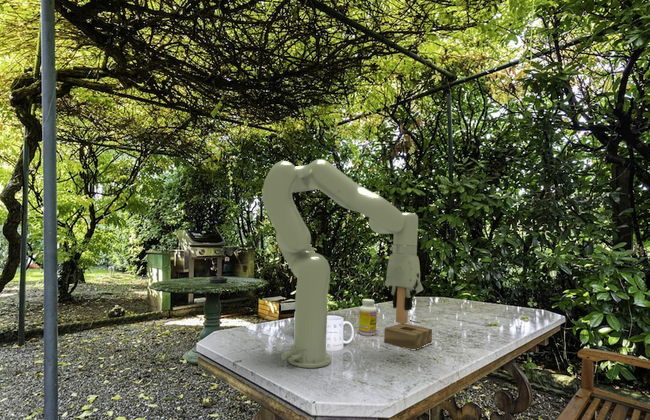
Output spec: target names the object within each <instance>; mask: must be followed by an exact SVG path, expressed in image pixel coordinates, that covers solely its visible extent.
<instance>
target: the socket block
mask: <svg viewBox="0 0 650 420" xmlns="http://www.w3.org/2000/svg"><path fill="white" fill-rule="evenodd" d="M383 332H384V335H383V337H384V340H383V344H387V343H389V344H388V345H391V344H392V346H395V345H396V346H395V347H399V346H400V348H403V347H405V348H404V349H406V348H410V349H417V348H420V347H422V346H424V345H426V344H428V343H431V342H432V343H433V329H432V328H427V327H422V326H418V325H414V324H413V325H412V324H408V323H398V324H394V325H391V326H388V327H384V331H383ZM410 349H409V350H410ZM420 349H421V348H420Z"/></svg>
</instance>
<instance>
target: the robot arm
mask: <svg viewBox="0 0 650 420" xmlns="http://www.w3.org/2000/svg"><path fill="white" fill-rule="evenodd" d="M262 187H263V188H262V203H263V206H264V209H265V212H266V214H267V216H268V217H269V220H270V222H271V224H272V226H273V228H274V229H275V233H276V234H275V240H276V244H277V246H278V248H279V250H280V252H281V254H282V256H283V258H284V260H285V261H286V263H287V265H288V267H289V269H290V271H291V272H292V274H293V275H294V277H296V278H297V280H296V287H295V288H296V290H295V298H294V299H295V301H294V302H295V303H294V305H295V307H294V309H295V311H294V329H293V330H294V333H293V335H294V337H293V345H291V347H290V349H289V350H288V351H285V352H282V353H281V354H280V358H281V359H282V361H285V360H287V361H288V363H290V364H291V365H293V366H295V367H299V368H305V369H306V368H308V369H309V368H310V369H315V368H317V369H318V368H322V367H326V366H328V365H329V364H331V362H332V356H331V355H330V354H328V353H326V352H327V327H328V325H327V323H328V295H329V286H330V279H331V278H330V277H331V266H330V264H329V262H328V260H327V259H326V258H325V257H324V255H322V254H320V253H317V252H315V250H314V249H313V247H312V244H311V242H312V236H311V232H310V230H309V229H308V226H307V224H306V223H305V222H304V219H303V217H302V216H301V214H300V212H299V210H298V207H297V206H296V204H295V201H294V199H293V193H300V192H308V191H309V192H310V191H315V190H320V192H321V193H323V194H324V195H326V196H327V197H329V198H330V199H331V200H333V201H334V202H335V203H336V204H338V205H339V206H340V207H342V208H344V209H346V210H350V211H352V212H353V211H354V212H356V213H360V214H362V215H364V216H366V217H367V218H369V219H368V226H369V227H370V229H371V231H373V232H374V233H376V234H380V235H390V234H391V235H393V238H392V239H393V241H392V242H393V245H392V246H390V248H389V250H390V251H392V253H391V254H389V258H388V263H387V268H386V278H385V282H384V283H383V284H384V285H385V287H386V288H387V289H389V291H390V293H391V295H392V308H393V309H396V306H397V286H399V287H405V288H406V293H407V297H405V310H406V311H407V310H408V311H411V310H412V308H413V301H414V300H413V298H415V296H416V295H417V294H419V293H420V292H422V291H423V290H424V286H423V285H422V283H421V268H420V267H421V266H420V259H419V256H418V255H417V254H418V253H417V252H418V250H417V249H418V231H419V230H418V229H419V215H417V213H413V212H401V211H400V210H399V208H397V207H396V206H394V205H393V204H392V203H391V202H390V201H388V200H387V199H385V197H382V196H380V195H379V194H377V193H375V192H373V191H371V190H370V189H368V188H366V187H363V186H362V185H360V184H358V183H356V182H355V181H354V180H353V179H351V178H350V177H349V176H347V175H346V174H345V173H344V172H343V171H341V170H340V169H339V168H337V167H336V166H334V165H333V164H332V163H330V162H329V161H327V160H325V159H322V158H319V159H315V160H312V161H311V162H310V163H309V164H305V165H297V166H295V165H294V163H292V162H290V161H287V160H281V161H278V162H276V163H274V165H273V166H272V167H271V168H270V170H269V171H268V172H267V175H266V177H265V179H264V182H263V186H262Z"/></svg>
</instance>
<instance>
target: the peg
mask: <svg viewBox="0 0 650 420" xmlns="http://www.w3.org/2000/svg"><path fill="white" fill-rule="evenodd" d="M405 297H407V293H406V288H405V287H399V286H397V306H396V308H395V309H396V310H395V311H396V312H395V322H396V323H398V324H401V323H404V324H408V320H409V319H408V318H409V316H408V314H409V310H407V311H406V310H405Z"/></svg>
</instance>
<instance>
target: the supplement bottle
mask: <svg viewBox="0 0 650 420" xmlns="http://www.w3.org/2000/svg"><path fill="white" fill-rule="evenodd" d="M361 303H362V305H361V306H359V313H358V315H359V316H358V317H359V319H358V321H359V322H358V333H359V335H361V336H367V337H371V336H372V335H373V336H375V335H377V321H378V320H377V317H378V316H377V315H378V314H377V312H378V311H377V307H376V306H375V300H374V299H373V298H371V299H370V298H363V299H362V300H361Z"/></svg>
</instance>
